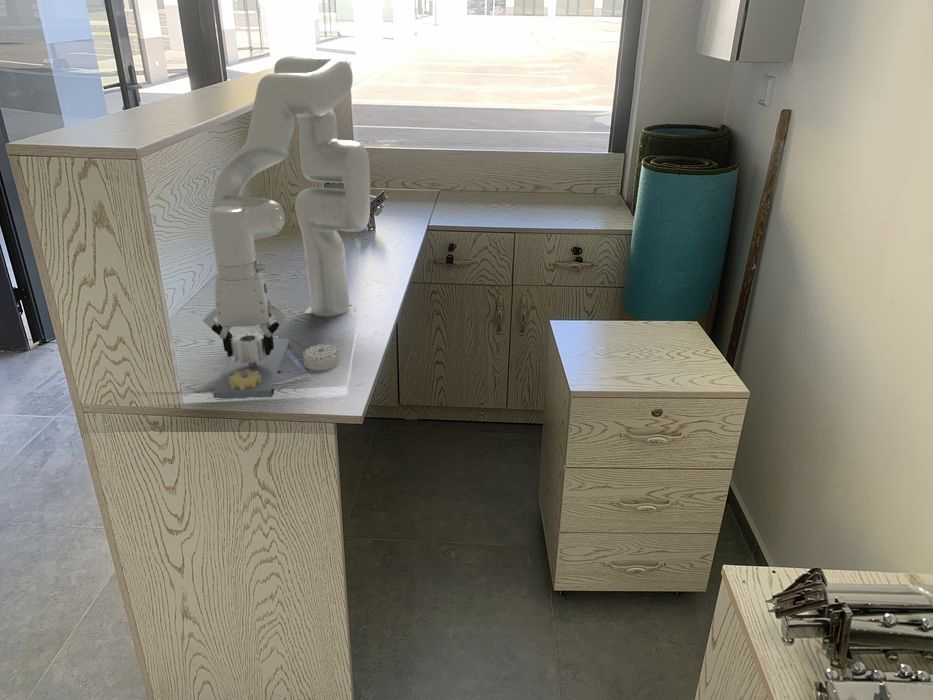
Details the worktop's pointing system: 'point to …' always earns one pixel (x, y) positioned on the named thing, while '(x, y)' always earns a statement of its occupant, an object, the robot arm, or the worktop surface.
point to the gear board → (262, 369)
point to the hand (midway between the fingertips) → (250, 352)
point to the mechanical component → (321, 357)
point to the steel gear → (248, 347)
